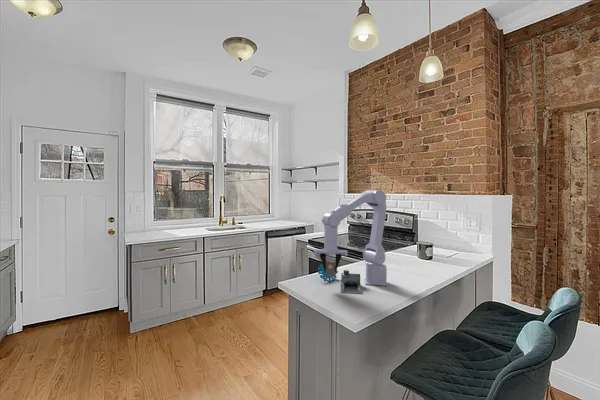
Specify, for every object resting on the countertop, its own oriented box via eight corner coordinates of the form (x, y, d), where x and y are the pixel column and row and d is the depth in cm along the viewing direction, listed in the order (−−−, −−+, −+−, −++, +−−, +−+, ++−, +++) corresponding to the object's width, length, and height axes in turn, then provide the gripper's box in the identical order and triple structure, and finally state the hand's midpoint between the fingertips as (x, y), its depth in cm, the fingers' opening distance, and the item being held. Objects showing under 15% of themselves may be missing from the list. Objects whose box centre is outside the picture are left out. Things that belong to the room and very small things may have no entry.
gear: (321, 280, 134) (316, 262, 140) (316, 286, 137) (311, 268, 144) (341, 281, 138) (336, 263, 145) (336, 287, 142) (331, 269, 148)
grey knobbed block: (335, 273, 128) (335, 260, 128) (334, 277, 123) (335, 263, 122) (326, 273, 128) (326, 260, 128) (325, 277, 123) (325, 263, 123)
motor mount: (360, 284, 133) (360, 270, 133) (361, 293, 122) (362, 277, 121) (340, 283, 135) (340, 269, 135) (340, 292, 123) (340, 276, 123)
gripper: (313, 241, 123) (313, 272, 123) (347, 242, 121) (347, 274, 121) (315, 238, 130) (314, 268, 130) (347, 239, 128) (347, 269, 128)
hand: (330, 271), depth 126 cm, fingers closed on grey knobbed block, 4 cm apart
